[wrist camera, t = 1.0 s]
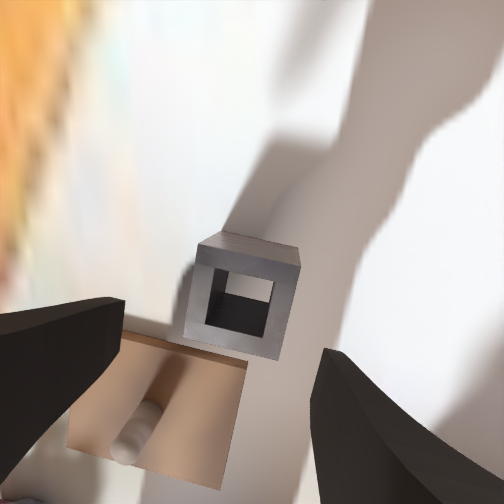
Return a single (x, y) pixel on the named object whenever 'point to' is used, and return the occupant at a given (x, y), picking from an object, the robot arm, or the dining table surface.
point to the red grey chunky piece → (22, 501)
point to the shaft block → (161, 410)
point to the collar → (237, 307)
